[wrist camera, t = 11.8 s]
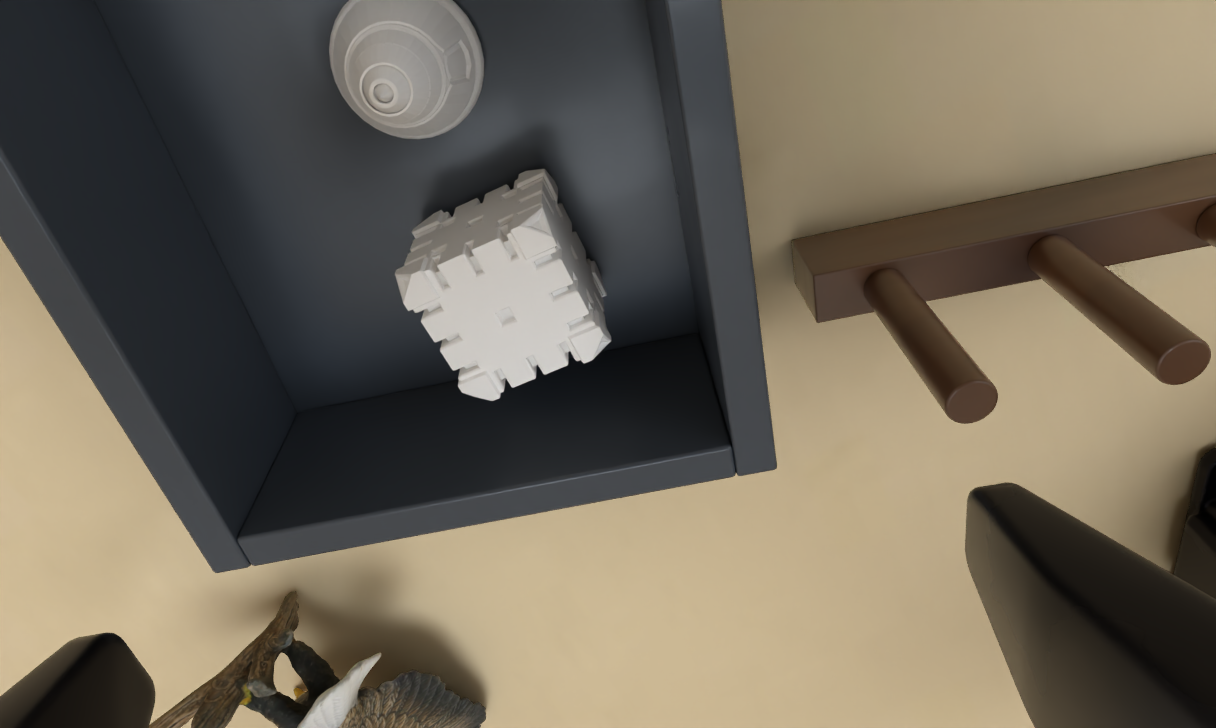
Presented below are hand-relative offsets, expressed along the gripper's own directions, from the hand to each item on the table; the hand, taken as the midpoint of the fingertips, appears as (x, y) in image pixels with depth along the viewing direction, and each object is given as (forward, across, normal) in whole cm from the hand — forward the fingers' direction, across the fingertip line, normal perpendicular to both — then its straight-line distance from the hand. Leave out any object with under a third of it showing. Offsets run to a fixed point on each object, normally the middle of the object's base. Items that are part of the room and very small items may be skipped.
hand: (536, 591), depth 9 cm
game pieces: (+11, +2, -4) cm, 12 cm away
